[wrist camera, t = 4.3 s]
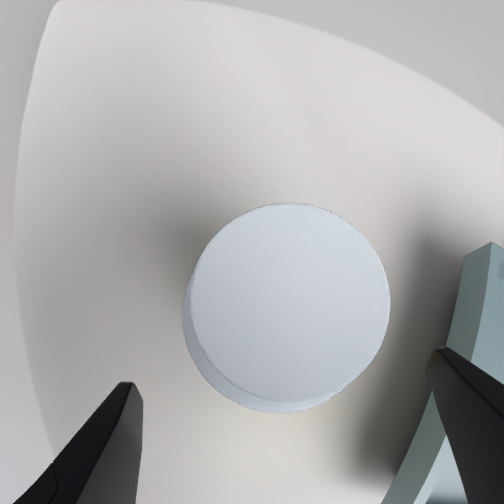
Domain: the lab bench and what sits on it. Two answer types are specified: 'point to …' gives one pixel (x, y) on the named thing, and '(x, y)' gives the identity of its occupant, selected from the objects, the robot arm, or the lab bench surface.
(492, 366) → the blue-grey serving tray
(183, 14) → the lab bench surface
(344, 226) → the pill bottle
